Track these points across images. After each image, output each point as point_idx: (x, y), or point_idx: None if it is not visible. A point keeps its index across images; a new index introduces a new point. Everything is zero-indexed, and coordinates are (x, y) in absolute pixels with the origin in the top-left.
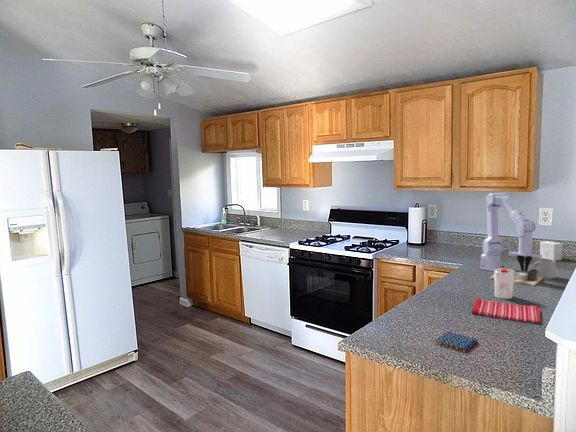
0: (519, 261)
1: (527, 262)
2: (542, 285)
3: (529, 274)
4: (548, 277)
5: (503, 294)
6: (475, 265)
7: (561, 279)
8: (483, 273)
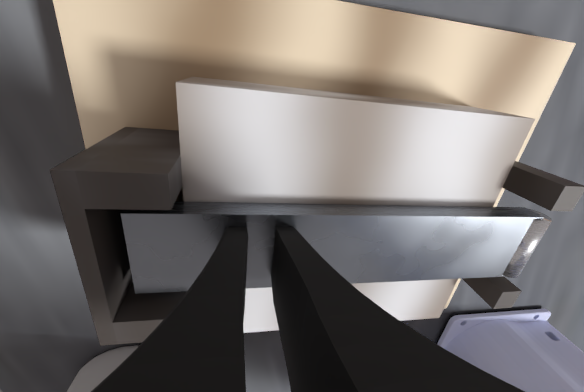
0: (405, 341)
1: (153, 365)
2: (8, 76)
3: (157, 152)
4: (100, 359)
5: None
6: None
7: (18, 383)
8: (551, 224)
